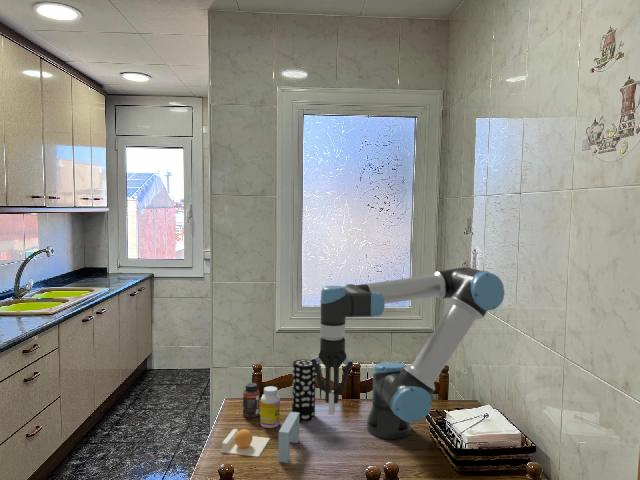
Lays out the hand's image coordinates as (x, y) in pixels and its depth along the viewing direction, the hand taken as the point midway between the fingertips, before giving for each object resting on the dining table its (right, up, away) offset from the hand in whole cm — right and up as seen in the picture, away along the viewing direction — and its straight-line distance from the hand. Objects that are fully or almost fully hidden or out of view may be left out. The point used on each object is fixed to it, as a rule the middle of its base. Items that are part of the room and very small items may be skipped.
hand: (331, 412), depth 145 cm
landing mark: (-27, -13, +6) cm, 30 cm away
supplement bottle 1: (-29, -11, +28) cm, 42 cm away
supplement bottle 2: (-21, -12, +21) cm, 32 cm away
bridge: (-13, -13, +3) cm, 19 cm away
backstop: (-33, -12, +7) cm, 35 cm away
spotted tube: (-10, -12, +28) cm, 32 cm away
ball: (-28, -10, +4) cm, 30 cm away
